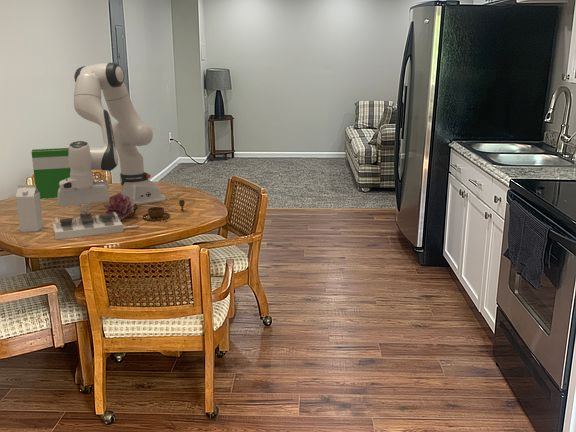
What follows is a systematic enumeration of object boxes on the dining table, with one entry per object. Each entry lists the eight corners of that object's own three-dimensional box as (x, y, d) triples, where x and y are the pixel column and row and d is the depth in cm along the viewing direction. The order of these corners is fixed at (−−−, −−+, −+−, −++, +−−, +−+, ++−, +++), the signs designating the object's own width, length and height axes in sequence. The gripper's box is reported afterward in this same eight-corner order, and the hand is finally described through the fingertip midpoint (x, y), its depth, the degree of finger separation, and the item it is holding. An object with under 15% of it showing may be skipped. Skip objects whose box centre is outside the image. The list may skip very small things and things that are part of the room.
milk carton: (26, 227, 239) (20, 183, 234) (43, 226, 240) (38, 183, 234) (20, 232, 232) (14, 187, 227) (37, 231, 233) (32, 186, 228)
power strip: (133, 221, 248) (132, 209, 246) (139, 229, 236) (138, 216, 235) (53, 230, 234) (52, 217, 233) (55, 239, 223) (54, 226, 221)
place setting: (141, 215, 260) (140, 202, 259) (184, 211, 267) (184, 199, 265) (144, 225, 245) (144, 212, 243) (191, 221, 251) (190, 208, 249)
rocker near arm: (111, 217, 242) (110, 213, 242) (113, 218, 236) (113, 213, 235) (100, 219, 240) (100, 214, 240) (102, 219, 234) (102, 215, 234)
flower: (103, 207, 259) (104, 188, 254) (136, 209, 263) (138, 191, 259) (101, 225, 247) (102, 205, 242) (136, 227, 251) (138, 208, 246)
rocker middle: (91, 216, 239) (91, 212, 238) (93, 223, 233) (93, 219, 232) (80, 217, 237) (79, 213, 236) (82, 225, 231) (82, 220, 230)
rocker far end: (71, 223, 235) (71, 218, 235) (72, 222, 229) (72, 217, 229) (60, 224, 233) (59, 219, 233) (61, 223, 227) (60, 218, 227)
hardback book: (36, 199, 285) (31, 151, 279) (37, 195, 292) (32, 149, 285) (74, 196, 291) (69, 150, 285) (74, 193, 298) (69, 147, 291)
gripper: (107, 178, 239) (109, 209, 243) (55, 182, 231) (58, 214, 235) (109, 181, 234) (111, 213, 238) (56, 185, 226) (59, 218, 229)
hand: (85, 214), depth 236 cm, fingers closed, pressing on rocker middle
